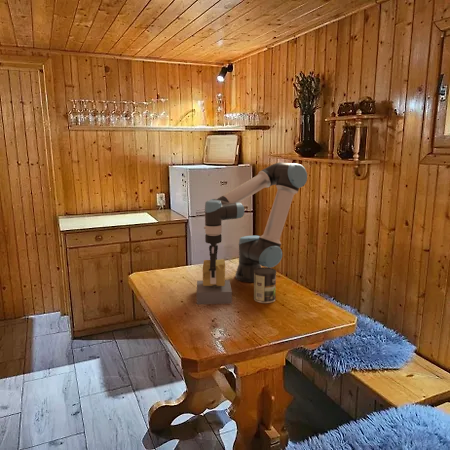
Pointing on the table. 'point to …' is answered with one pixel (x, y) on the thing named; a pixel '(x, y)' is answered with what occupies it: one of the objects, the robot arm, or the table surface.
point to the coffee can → (264, 285)
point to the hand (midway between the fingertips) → (213, 279)
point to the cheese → (219, 273)
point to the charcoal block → (214, 293)
